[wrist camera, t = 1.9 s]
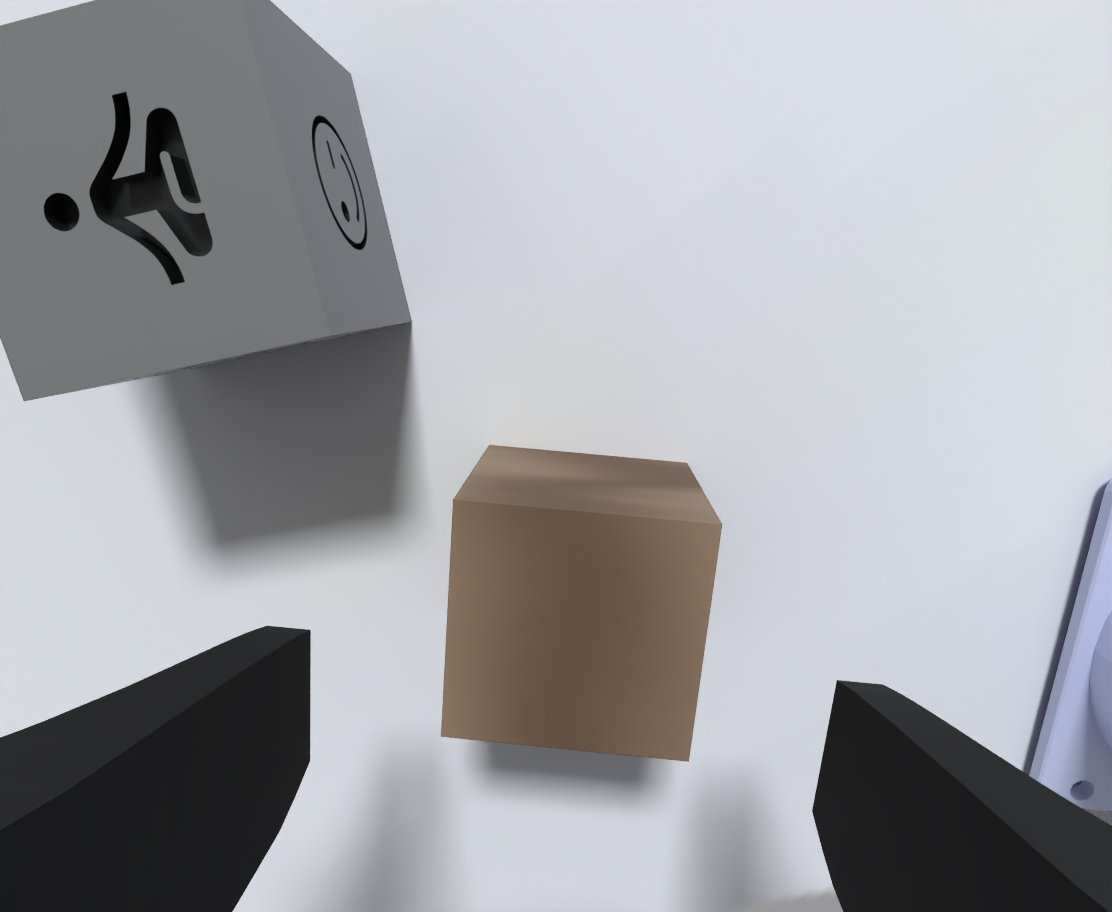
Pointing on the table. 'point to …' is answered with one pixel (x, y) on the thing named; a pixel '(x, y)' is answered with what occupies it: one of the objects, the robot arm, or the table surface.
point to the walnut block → (578, 602)
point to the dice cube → (180, 193)
